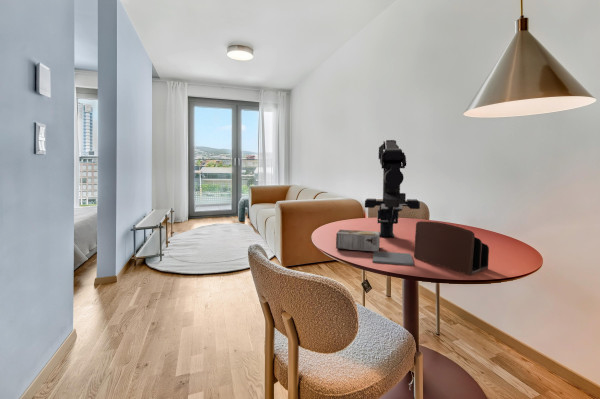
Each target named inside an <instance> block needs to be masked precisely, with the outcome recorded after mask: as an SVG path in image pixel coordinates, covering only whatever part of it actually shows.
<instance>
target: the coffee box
mask: <svg viewBox="0 0 600 399" xmlns="http://www.w3.org/2000/svg"><path fill="white" fill-rule="evenodd" d="M380 238H381V237H380V231H376V230H375V231H372V230H371V231H370V230H352V229H350V230H349V229H339V230H338V231H337V232H336V237H335V247H336V248H335V249H338V250H349V251H350V250H352V251H364V252H374V251H376V252H378V251H379V250H380V243H381V241H380ZM379 252H380V251H379Z"/></svg>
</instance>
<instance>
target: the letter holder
mask: <svg viewBox="0 0 600 399" xmlns="http://www.w3.org/2000/svg"><path fill="white" fill-rule="evenodd" d="M414 236H415V237H414V251H413V258H415V259H418V260H421V261H424V262H428V263H431V264H433V265H436V266H440V267H443V268H447V269H449V270H452V271H456V272H458V273H461V274H465V275H468V276H473V275H475V274H478V273H481V272H483V271H486V270H488V269H489V260H490V259H489V256H490V255H489V254H490V247H489V245H488V244H486V243H484V242H483V241H482V240H481V239H480V238H479V237H476V236H475V233H474V232H473V231H472V230H470V229H466V228H465V227H464V228H463V227H460V226H457V225H453V224H447V223H443V222H436V221H421V220H420V221H417V222H416V224H415V235H414Z"/></svg>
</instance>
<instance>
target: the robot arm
mask: <svg viewBox="0 0 600 399" xmlns="http://www.w3.org/2000/svg"><path fill="white" fill-rule="evenodd" d="M382 142H383V144H381V145H380V146H379V147H378V160H379V163H380V166H381V170H382V169H383V172H382V173H383V174H382V175H383V176H382V177H383V178H382V200H377V198H366V199H365V200H364V208H366V209H371V208H372V209H374V208H375V207H377V206H378V209H377V219H376V220H377V224H379V227H380V228H379V232H380V238H395V233H394V224H395V225H396V224H398V223H399V212H400V211H401V212H402V211H403V207H408V209H409V210H420V208H421V203H420V202H421V201H419V200H418V199H417V198H416V199H415V198H414V199H413V198H407V197H406V196H407V194H406V193H405V192H401V184H402V183H403V181H404V174H403V172H402V171H401V169H406V166H407V156H406V155H405V152H404V151H403V149H402V148H400V147H399V145H398V144H397V140H395V139H386V140H383V141H382ZM406 198H407V199H406Z"/></svg>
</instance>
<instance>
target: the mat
mask: <svg viewBox="0 0 600 399" xmlns="http://www.w3.org/2000/svg"><path fill="white" fill-rule="evenodd" d="M372 252H373V254H372V264H373V263H375V264H388V265H399V266H412V267H413V266H414V264H415V263H414V260H413V257H412V254H411V253H408V252H393V251H392V252H391V251H378V252H376V251H372Z"/></svg>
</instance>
